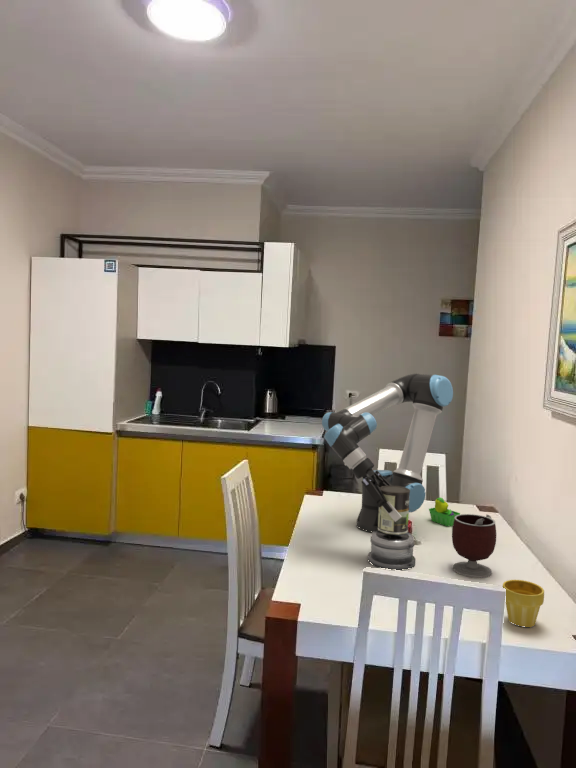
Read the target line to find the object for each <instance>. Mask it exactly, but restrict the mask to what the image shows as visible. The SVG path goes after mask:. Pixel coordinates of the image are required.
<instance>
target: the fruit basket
mask: <svg viewBox="0 0 576 768" xmlns="http://www.w3.org/2000/svg"><path fill="white" fill-rule="evenodd" d="M434 503H435V504H434V507H431V508H428V511H429V515H430V519H431V522H434V523H437V524H439V525H442V526H445V527H453V523H454V518H455V516H457V515H461V512H458V511H456V510H455V511H454V510H451V509H448V508H449V503H448V502H447V501H445V500H444V499H443V497H437V498H436V499H435V501H434Z"/></svg>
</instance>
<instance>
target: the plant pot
mask: <svg viewBox="0 0 576 768" xmlns="http://www.w3.org/2000/svg"><path fill="white" fill-rule="evenodd" d="M502 587H503V588H505V589H506V602H505V607H506V614H507V619H509V620H508V622H509V621H510V622H512V623H514V624H516V625H519V626H525V627H530V628H533V627H534V626H536V622H537V618H538V615H539V612H540V608H541V606H542V605H544V603H545V602H544V601H545V590H544V588H543V586H540V585H539V584H537V583H535V582H532V581H529V580H524V579H507V580H506V581H504V582H503V583H502ZM510 622H509V623H510ZM532 626H533V627H532Z"/></svg>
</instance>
